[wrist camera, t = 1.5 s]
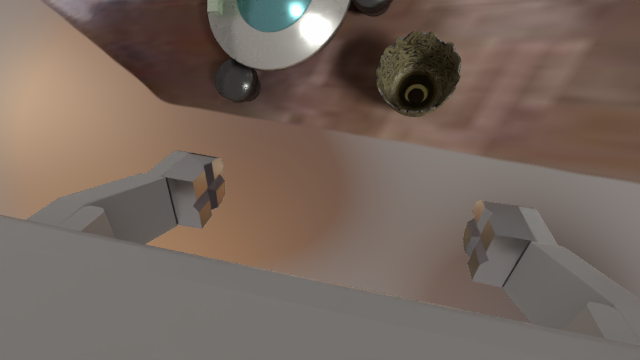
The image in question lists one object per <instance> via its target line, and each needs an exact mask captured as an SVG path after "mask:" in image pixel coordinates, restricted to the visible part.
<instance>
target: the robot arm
mask: <svg viewBox="0 0 640 360" xmlns="http://www.w3.org/2000/svg"><path fill="white" fill-rule="evenodd" d="M222 171H223V164H222V160H221V159H220V158H217V157H212V156H207V155H201V154H196V153H190V152H185V151H173V152H172V153H171V154H170V155H169V156H167V157H166V158H165V159H163V160H162V161H161V162H160V163H159V164H157V165H156V166H155V167H154V168H152V169H151V170H150V171H149V172H147V173H146V174H142V173H140V174H137V175H134V176H130V177H127V178H124V179H120V180H117V181H114V182H111V183H107V184H104V185H100V186H97V187H94V188H90V189H87V190H84V191H80V192H77V193H73V194H70V195H67V196H64V197H60V198H57V199H56V200H55V201H53V202H52V203H50V204H49V205H47V206H46V207H44V208H43V209H41V210H40V211H38V212H37V213H35V214H34V215H32V216H31V217H29V218H28V219H27V220H23V219H18V218H13V217H8V216H3V215H0V360H640V299H638V298H637V297H635V296H634V295H632V294H631V293H630V292H628V291H627V290H626V289H624V288H622V287H621V286H620V285H618V284H617V283H615V282H614V281H613V280H611V279H610V278H608V277H607V276H605V275H604V274H602V273H601V272H599V271H598V270H597V269H595V268H594V267H592V266H591V265H589V264H588V263H587V262H585V261H584V260H582V259H581V258H579V257H578V256H576V255H575V254H574V253H572V252H571V251H569V250H568V249H566V248H565V247H561V246H558V245H557V243H556V241H555V240H554V238H553V236H552V235H551V233H550V231H549V230H548V228H547V226H546V225H545V223H544V221H543V220H542V218H541V216H540V215H539V213H538V211H537V210H536V209H534V208H533V207H524V206H517V205H508V204H501V203H494V202H487V201H480V200H478V202H477V203H476V204H475V206H474V209H473V215H474V219H472V220H470V221H469V222H467V225H466V228H465V230H464V236H463V246H464V251H465V253H466V254H467V255H468V256H469V257H470V259H469V261H468V263H467V264H468V268H469V272H470V276H471V279H472V281H475V282H479V283H484V284H489V285H493V286H498V287H502V288H503V290H504V291H505V292H506V294H507V295H508V296H509V297H510V298H511V299H512V301H513V302H514V303H515V304H516V305H517V306H518V307H519V309H520V310H521V311H522V312H523V313H524V315H525V316H526V317H527V318H528V319H529V320H530V322H531V323H532V324H531V323H527V322H521V321H516V320H511V319H506V318H502V317H497V316H492V315H486V314H482V313H477V312H472V311H467V310H463V309H458V308H452V307H448V306H443V305H438V304H433V303H428V302H424V301H419V300H414V299H409V298H404V297H399V296H394V295H390V294H385V293H380V292H375V291H370V290H365V289H360V288H355V287H350V286H346V285H340V284H336V283H330V282H326V281H321V280H316V279H311V278H306V277H301V276H296V275H291V274H286V273H281V272H276V271H272V270H267V269H262V268H257V267H252V266H247V265H242V264H238V263H232V262H228V261H223V260H218V259H213V258H208V257H203V256H198V255H194V254H188V253H184V252H179V251H174V250H169V249H164V248H159V247H155V246H149V245H145V244H146V243H148V242H150V241H152V240H153V239H155V238H157V237H159V236H160V235H162V234H164V233H166V232H167V231H169V230H171V229H172V228H174V227H176V226H177V225H182V226H188V227H194V228H200V229H202V228H203V227H204V225H205V224H206V223H207V222H208V220H209V219H210V218H211V216H212V212H211V210H213V209H215V208H217V207H219V205H220V204H221V203H222V201H223V198H224V195H225V180H224V179H223V178H222V177H221V175H220V173H221V172H222Z"/></svg>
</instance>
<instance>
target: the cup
mask: <svg viewBox="0 0 640 360" xmlns="http://www.w3.org/2000/svg"><path fill="white" fill-rule="evenodd" d="M436 35H437V34H435V33H434V32H429V33H427V34H425V33H424V32H421V31H413V32H411V33H410V34H408V35H407V36H406V37H405V38H404V39H402V38H400V37H399V38H397V39H396V40H395V45H394V47H393V46H388V47H387V48H386V49H385V50H384V54H383V55H381V56H380V62H379V68H378V69H377V70H376V76H377V81H376V85H377V88H378V90H379V92H380V94H381V96H382V97H383V99H384V100H385V101H386V102H387V103H388V104H389V105H390V106H391V107H392V108H393V109H394V110H395V111H397V112H398V113H400V114H402V115H405V116H409V117H420V116H424V115H427V114H430V113H432V112H433V111H435V110H436V109H438V108H439V107H440V106H441V105H442V104H443V103H444V102H445V101H446V100H447V99H448V98H449V97H450V96H451V95H452V93H453V92H454V90H455V86H456V85H457V83H458V82H459V80H460V75H459V72H460V68H461V58H460V56H459V55H458V54H457V53H456V52H455V47H454V44H453V43H451V42H450V43H447V44H448V45H447V44H445V43H444V42H443V41H442V40H438V39H437V37H436ZM413 89H420V90H421V91H422V92H423V99H422V100H421V101H420V102H418V103H413V102H411V101H410V100H409V93H410V92H411V91H412V90H413Z"/></svg>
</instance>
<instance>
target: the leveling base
mask: <svg viewBox="0 0 640 360" xmlns="http://www.w3.org/2000/svg"><path fill="white" fill-rule="evenodd" d="M391 2H392V0H353V3H354V5H355V6H356V8H357V9H359V10H360V11H362V12H364V13H365V14H366V15H368V16H373V17H374V16H379V15H381V14H383V13H384V12H385V11H386V10H387V9H388V8H389V6H390V3H391ZM350 3H351V0H207V12H208V18H209V22H210V26H211V29H212V32H213V34H214V37H215V38H216V40H217V42H218V43H219V45H220V46H221V47H222V49H223V50H224V51H225V52H226V53H227V54H228V55H229V56H231V57H232V58H231V59H228V60H226V61H225V62H223V63H222V64H221V65H220V67H219V68H218V70H217V72H216V76H215V85H216V89H217V91H218V92H219V93H220V94H221V95H222V96H223V97H225V98H227V99H229V100H231V101H233V102H237V103H241V102H245V101H252V100H254V99H255V98H256V97H257V96H258V94H259V92H260V82H259V80H258V76H257V73H256V71H255V70H254V69H256V70H261V71H279V70H285V69H288V68H292V67H295V66H297V65H299V64H302V63H304V62H305V61H307V60H309V59H311V58H312V57H313V56H315V55H316V54H317V53H319V52H320V51H321V50H322V49H323V48H324V47H325V46H326V45H327V44H328V43H329V42H330V41H331V40H332V39H333V37H334V36H335V35H336V33H337V32H338V30H339V29H340V27H341V25H342V23H343V21H344V19H345V17H346V15H347V12H348V9H349V7H350Z"/></svg>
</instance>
